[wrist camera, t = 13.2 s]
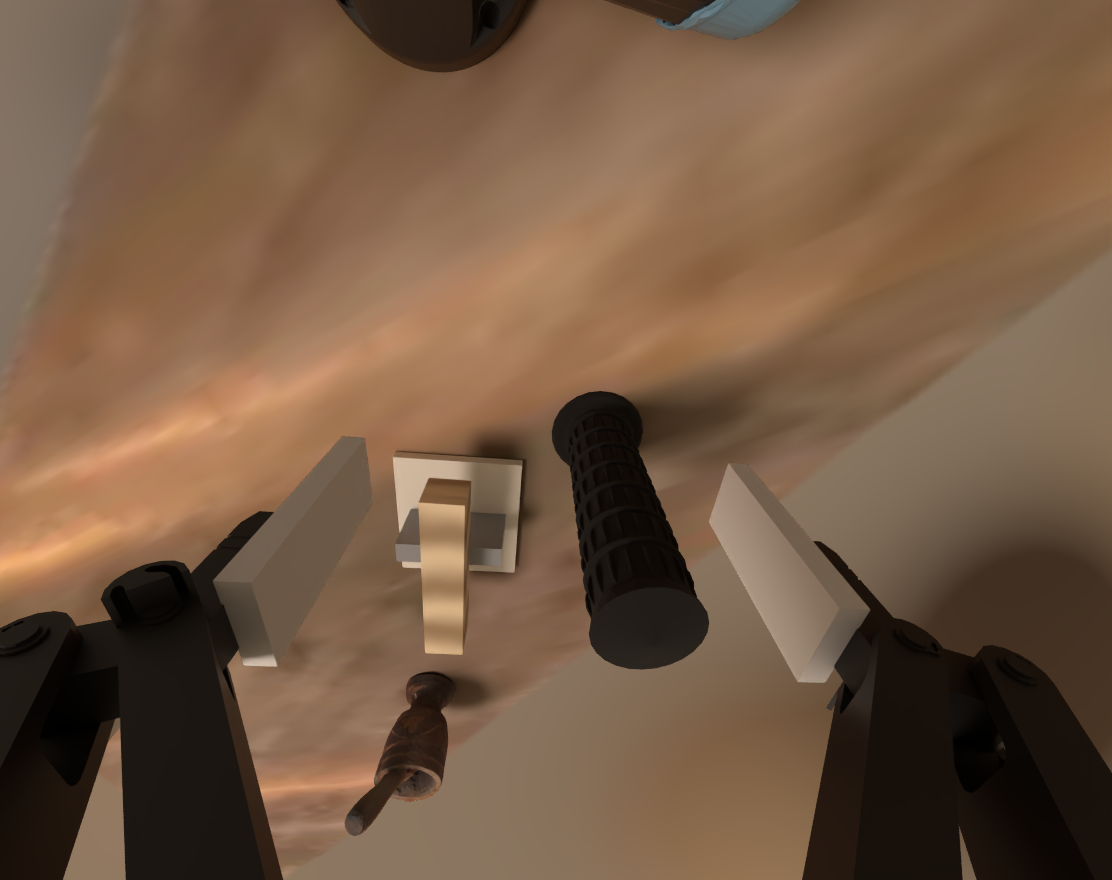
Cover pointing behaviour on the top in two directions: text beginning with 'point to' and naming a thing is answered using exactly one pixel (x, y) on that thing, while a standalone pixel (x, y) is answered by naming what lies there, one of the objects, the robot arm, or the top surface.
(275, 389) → the top surface
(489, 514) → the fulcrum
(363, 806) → the mortar and pestle
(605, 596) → the handle grip
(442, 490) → the maple bar
